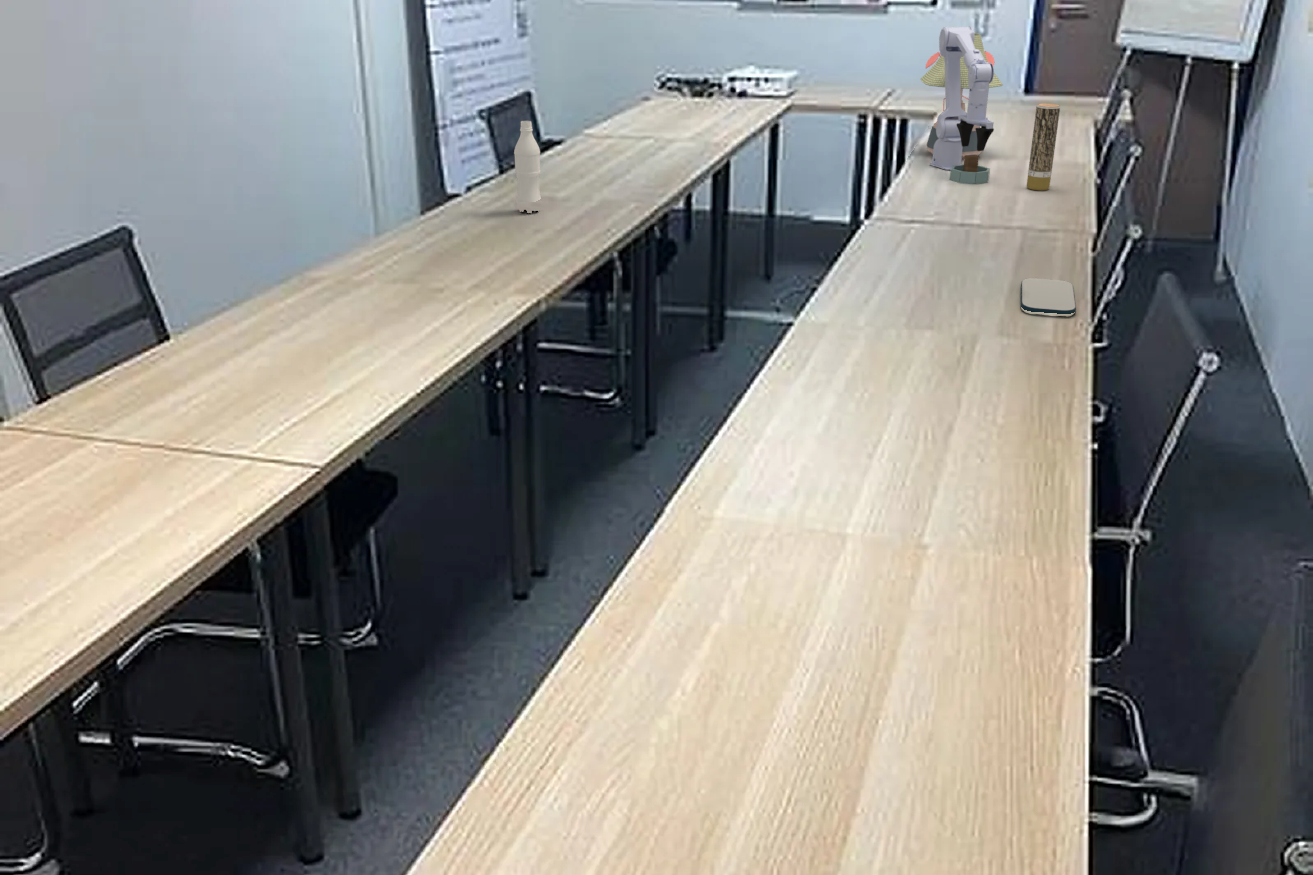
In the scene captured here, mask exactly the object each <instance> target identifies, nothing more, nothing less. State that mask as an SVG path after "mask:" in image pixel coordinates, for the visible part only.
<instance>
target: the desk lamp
mask: <svg viewBox="0 0 1313 875" xmlns="http://www.w3.org/2000/svg"><path fill="white" fill-rule="evenodd" d="M974 33H975V38H974V42H973V44H974V46H975V49H978V50H979V51H980V52H981V53H982V55H983V57H984V59H985V61H986V62H988V61H987V58H986V55H985V52H984V51H985V48H984V45H983V39H982V35H981V34H980V33H978V32H974ZM963 58H964V56H962V57H961V58H960V83H961V109H962V110H964V111H965V112H966V103H965V102H964V100H963V97H962V95H963V90H964V89H965V90H970V88H969V86H968V84H969V80H968V72H969V71H968V69H967V67H966V65H965V63H964V61H963ZM920 81H921V82H922V83H923V84H925V85H926V86H929V87H938V88H945V62H944V57H943V56H942V55H941V56H940V57H938V59H937V60H936V62H935V63H933V65H932V67H931V68H929V70H928V71H927V72H926V73H925V74H924V75H923V76H922V77H921V78H920ZM1002 86H1004V84H1003V82H1002V81H1001V80H1000V79H999V77H998V76H997V75H996V74H995V72H994V77H993V80H992V82H991V83H989V89H990V88H999V87H1002ZM936 126H937V121H936V122H935V123H933V125H932V126H931V127H930V133H929V136H928V139H927V142H926V150H927V151H928V152H929V153H930V154H932V155H933V149H934V144H935V142H936V141H937V140H938V139H939V138H938V137H937V134H936ZM976 128H981V126H977V125H974V127H973V129H972V132H971V136H970V141H969V145H968V146H965V147H963V148H962V158H961V160H964V156H965V155H974V154H975V155H980V154H981V153H982V152H983V151H977V133H976Z"/></svg>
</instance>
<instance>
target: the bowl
mask: <svg viewBox="0 0 1313 875" xmlns="http://www.w3.org/2000/svg"><path fill="white" fill-rule="evenodd" d="M963 166H964V164H961V165H956V166H952V168H951V170H950V172H949V173H950V174H949V181H952V182H956V183H958V184H970V185H971V184H972V185H978V184H988V182H989V181H990V175H991V174H990V173H991V168H990V167H987V166H983V165H980V164H978V169H977V172H966V171H963Z"/></svg>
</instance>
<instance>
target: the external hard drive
mask: <svg viewBox="0 0 1313 875" xmlns="http://www.w3.org/2000/svg"><path fill="white" fill-rule="evenodd" d="M1021 307H1022V308H1023V309H1024V310H1027V311H1031V312H1044V313H1057V314H1071V313H1074V312H1075V313H1076V312H1077V304H1076V295H1075V288H1074V285H1073V283H1071V282H1069V281H1067V280H1063V279H1062V280H1061V279H1051V278H1050V279H1049V278H1039V277H1034V278H1033V277H1028V278H1024V279H1022V280H1021V282H1020V308H1021Z"/></svg>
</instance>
